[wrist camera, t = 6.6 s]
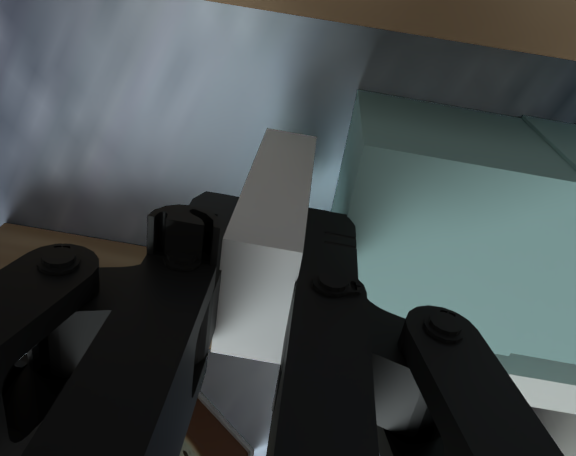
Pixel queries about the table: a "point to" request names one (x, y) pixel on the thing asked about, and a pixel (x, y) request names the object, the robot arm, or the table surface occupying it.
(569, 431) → the white rounded capsule
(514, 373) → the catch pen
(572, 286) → the pale teal cube
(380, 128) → the pale teal block
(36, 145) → the table surface
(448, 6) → the guide channel
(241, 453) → the food container
